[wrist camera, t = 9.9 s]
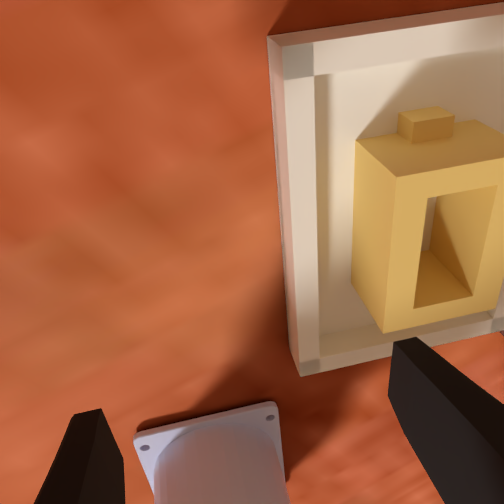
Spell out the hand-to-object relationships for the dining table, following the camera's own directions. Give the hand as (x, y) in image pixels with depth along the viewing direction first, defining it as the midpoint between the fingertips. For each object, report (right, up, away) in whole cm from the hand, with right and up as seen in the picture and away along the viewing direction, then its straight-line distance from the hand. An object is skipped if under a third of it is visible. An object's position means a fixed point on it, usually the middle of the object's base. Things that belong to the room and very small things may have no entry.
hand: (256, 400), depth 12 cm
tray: (+6, +6, +9) cm, 13 cm away
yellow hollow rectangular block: (+7, +6, +9) cm, 12 cm away
